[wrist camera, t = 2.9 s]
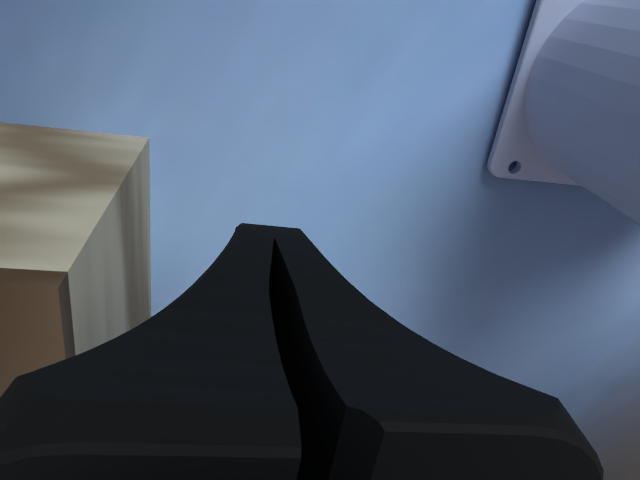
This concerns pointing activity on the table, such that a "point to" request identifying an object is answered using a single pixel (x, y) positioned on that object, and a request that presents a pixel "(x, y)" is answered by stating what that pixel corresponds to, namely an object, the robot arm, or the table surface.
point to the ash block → (70, 243)
